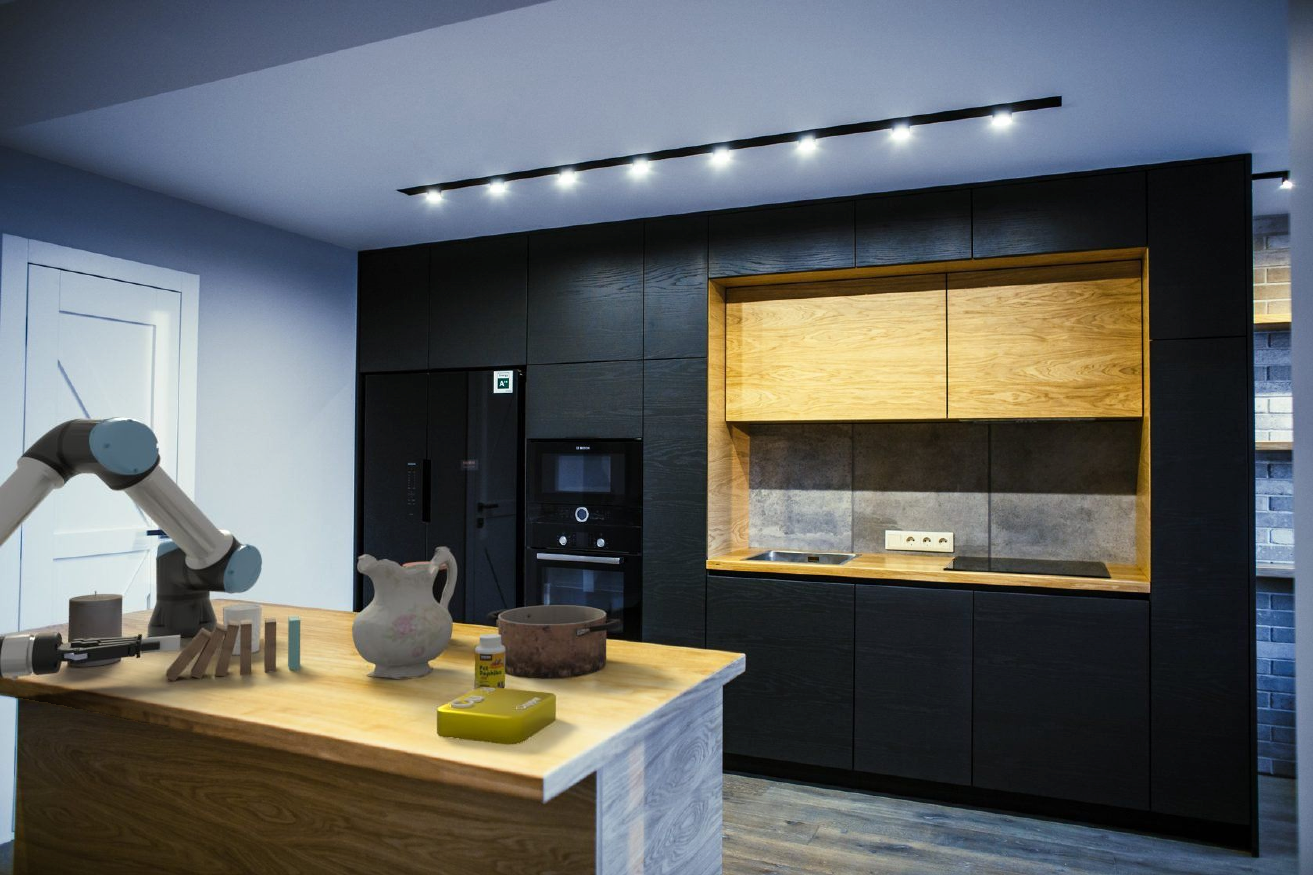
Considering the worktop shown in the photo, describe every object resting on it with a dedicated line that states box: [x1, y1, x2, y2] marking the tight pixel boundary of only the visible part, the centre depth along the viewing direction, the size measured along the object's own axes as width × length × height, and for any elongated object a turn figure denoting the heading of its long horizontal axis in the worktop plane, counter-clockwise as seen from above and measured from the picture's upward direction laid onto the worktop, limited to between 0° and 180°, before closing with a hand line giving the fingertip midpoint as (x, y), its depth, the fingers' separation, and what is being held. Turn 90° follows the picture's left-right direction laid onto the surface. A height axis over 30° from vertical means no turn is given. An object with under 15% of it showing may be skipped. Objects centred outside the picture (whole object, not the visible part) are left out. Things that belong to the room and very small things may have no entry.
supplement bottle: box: [474, 633, 506, 690], centre depth 160 cm, size 6×6×10 cm
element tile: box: [436, 687, 557, 745], centre depth 139 cm, size 15×15×5 cm
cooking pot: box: [486, 604, 622, 680], centre depth 180 cm, size 30×22×11 cm
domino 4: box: [239, 620, 253, 676], centre depth 175 cm, size 5×2×10 cm, turn 26°
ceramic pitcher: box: [351, 545, 458, 680], centre depth 176 cm, size 22×20×25 cm
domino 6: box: [287, 615, 301, 671], centre depth 179 cm, size 5×2×10 cm, turn 26°
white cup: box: [222, 603, 263, 656], centre depth 193 cm, size 8×8×10 cm
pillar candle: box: [67, 590, 124, 668], centre depth 183 cm, size 10×10×15 cm
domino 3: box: [214, 620, 239, 677], centre depth 173 cm, size 5×2×10 cm, turn 26°
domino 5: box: [263, 617, 277, 673], centre depth 177 cm, size 5×2×10 cm, turn 26°
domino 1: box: [165, 628, 212, 682], centre depth 170 cm, size 5×2×10 cm
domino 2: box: [190, 622, 227, 680], centre depth 172 cm, size 5×2×10 cm, turn 26°
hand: (179, 642), depth 170 cm, fingers closed
